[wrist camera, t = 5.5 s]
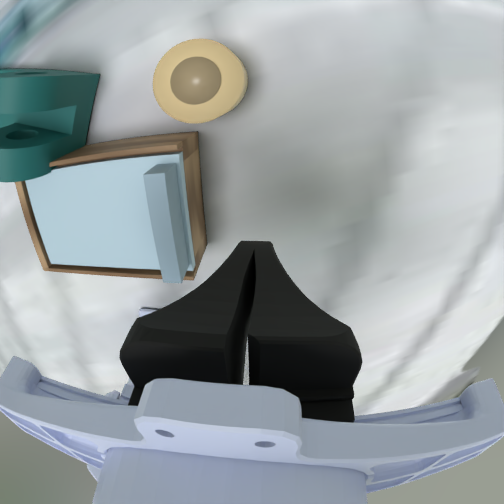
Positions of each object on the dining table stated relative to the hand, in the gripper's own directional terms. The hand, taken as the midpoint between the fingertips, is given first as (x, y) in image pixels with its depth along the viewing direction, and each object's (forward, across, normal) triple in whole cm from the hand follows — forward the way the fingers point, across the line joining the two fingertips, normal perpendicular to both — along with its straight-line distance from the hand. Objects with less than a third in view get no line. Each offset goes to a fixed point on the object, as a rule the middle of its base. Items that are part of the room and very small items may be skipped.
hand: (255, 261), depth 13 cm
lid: (+6, +11, 0) cm, 12 cm away
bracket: (+10, +22, -10) cm, 25 cm away
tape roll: (+10, +4, -8) cm, 13 cm away
